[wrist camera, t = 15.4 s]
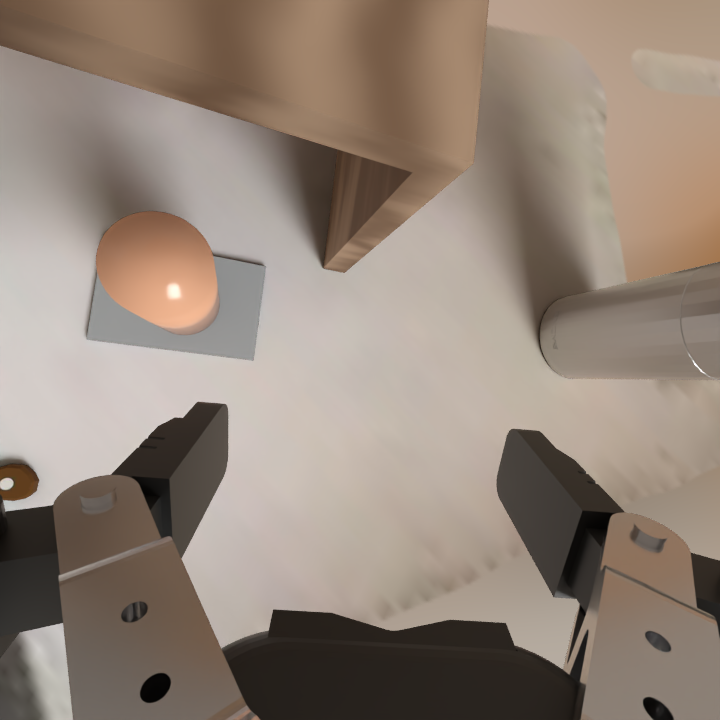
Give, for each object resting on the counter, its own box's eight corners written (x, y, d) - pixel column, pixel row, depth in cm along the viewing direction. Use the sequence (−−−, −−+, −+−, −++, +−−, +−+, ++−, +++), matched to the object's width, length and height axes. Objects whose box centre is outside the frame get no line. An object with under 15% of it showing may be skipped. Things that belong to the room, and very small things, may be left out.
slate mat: (265, 267, 34) (265, 266, 34) (252, 360, 34) (253, 360, 33) (105, 236, 31) (103, 234, 30) (88, 339, 30) (86, 339, 29)
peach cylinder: (222, 272, 33) (219, 222, 21) (216, 338, 32) (209, 324, 21) (149, 261, 31) (102, 201, 19) (142, 331, 31) (90, 310, 19)
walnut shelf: (361, 127, 38) (500, -123, 19) (344, 272, 37) (473, 163, 18) (121, 48, 31) (-35, -451, 12) (92, 220, 30) (-126, -38, 11)
